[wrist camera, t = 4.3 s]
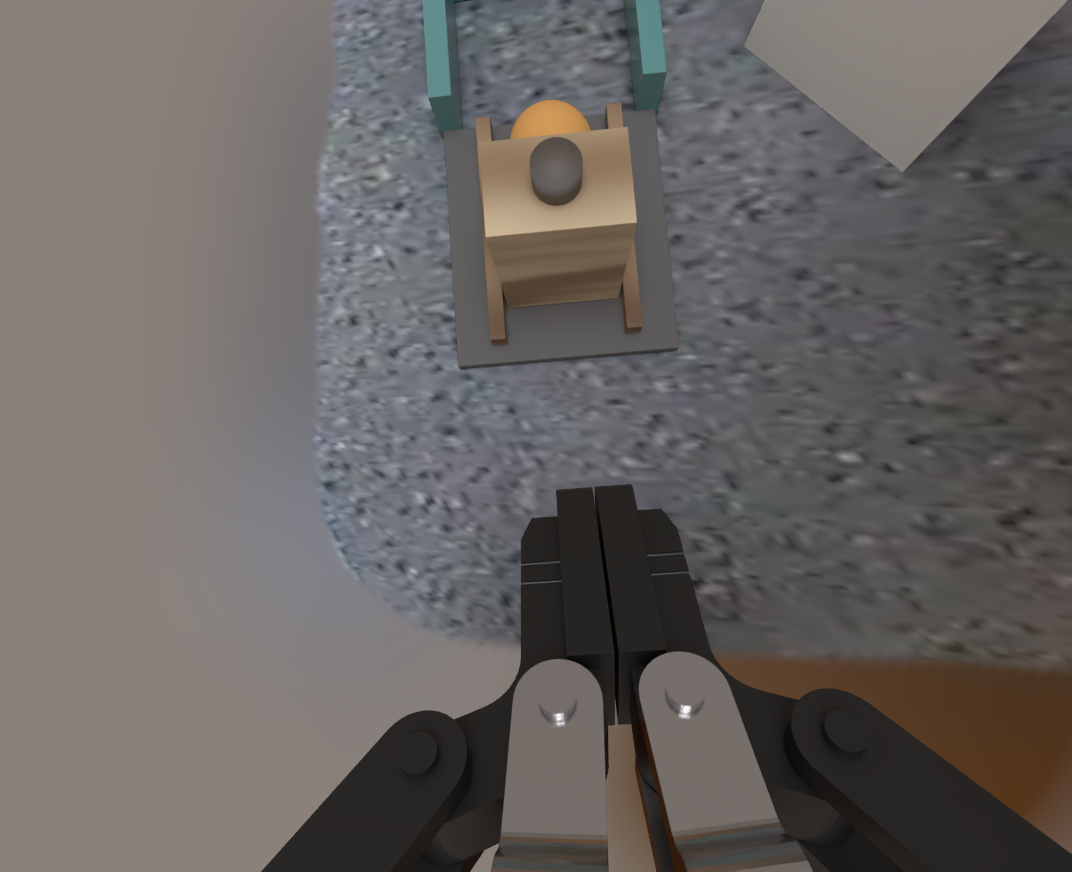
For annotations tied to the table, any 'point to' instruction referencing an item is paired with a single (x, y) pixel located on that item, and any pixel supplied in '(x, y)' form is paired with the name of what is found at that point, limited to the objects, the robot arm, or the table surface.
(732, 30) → the table surface
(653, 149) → the mat
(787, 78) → the milk
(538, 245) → the tan rectangular block
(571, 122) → the ball
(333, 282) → the table surface
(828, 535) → the table surface
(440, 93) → the teal u-shaped frame
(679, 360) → the table surface
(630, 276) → the channel
